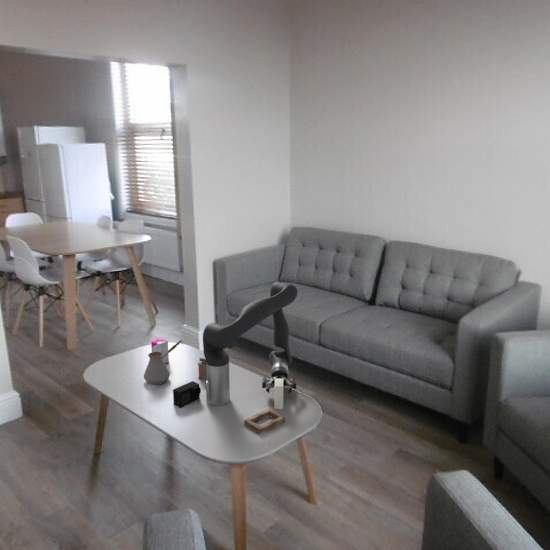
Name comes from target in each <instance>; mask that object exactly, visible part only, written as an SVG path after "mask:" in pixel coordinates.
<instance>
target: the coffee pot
mask: <svg viewBox="0 0 550 550" xmlns="http://www.w3.org/2000/svg"><path fill="white" fill-rule="evenodd" d="M180 343H181V344H184V341H183V340H181V339H180V340H179V341H178V342H176V343H175V344H174V345H172V346H171V347H170V349H168V352H167V353H166V354H164V355H163V353H162V352H152V351H151V352H150V353H148V357H149V360H148V364H147V366H146V368H145V371H144V374H143V379H144V380H145V382H146V383H148V384H150V385H153V386H154V385H155V386H158V385H162V384H164V383H166V382H167V381H168V379H169V378H170V375H171V373H170V370H169V369H168V367H167V364H165V363H164V361H163V360H162V359H163V358H164V357H165V356H166V355H167V354H168V355H169V354H170V353H172V351H174V349H176V348H177V346H179V345H180Z"/></svg>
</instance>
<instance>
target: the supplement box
mask: <svg viewBox="0 0 550 550" xmlns="http://www.w3.org/2000/svg"><path fill="white" fill-rule="evenodd" d="M150 344H151V345H150V346H151V353H152V352H162V353H163V355H164V354H166V353H167V352H168V351H169V341H168V340H167V339H163V338H157V339H154V340H152V341H151V342H150ZM169 356H170V355H169V353H168V354H167V355H166V356H165V357H164V358H163V359H162V360H163V361H164V363H165V365H167V364H169V362H170V361H169V360H170V359H169Z"/></svg>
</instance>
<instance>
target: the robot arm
mask: <svg viewBox="0 0 550 550" xmlns="http://www.w3.org/2000/svg"><path fill="white" fill-rule="evenodd" d="M269 295H270V296H268V297H263V298H260V299H256V300H253V301H251V302H250V303H248V304H247V305H245V306H243V307H242V309H240V311H239V314H238V315H237V316H238V317H237V319H236V320H235V321H234V322H232V323H230V324H228V325H223V324H219V323H217V322H209V323H208V324H207V325H206V326H205V328H203V329H204V330H203V332H202V347H203V355H204V356H203V357H204V358H205V359H206V367H207V381H206V382H205V391H206V392H205V393H206V394H205V395H206V404H207V405H208V404H209V405H211V406H217V407H218V406H221V407H222V406H225V405H227V404H229V403H230V400H231V393H230V392H231V387H230V385H231V384H230V381H231V380H230V356H229V354H228V353H227V352H226V351H225V349H227V348H229V347H230V346H231V345H232V344H234V343H235V342H236V341H237V340H238V339H239V338H240V337H241V336H243V335H244V334H245V333H247V332H248V331H249V330H251V329H253V328H254V327H256V326H257V325H259V324H261V323H262V322H263V321H264V320H266V319H267V318H268V317H270V316H271V315H272V319H273V346H275V347H277V348H280V349H283V350H272V351H271V352H270V353H269V357H268V359H269V360H268V361H269V364H270V365H271V370H270V377H269V378H268V377H266V376H263V377H262V381H261V386H262V387H261V388H262V389H265V392H267V393H268V394H270V389H274V385H275V378H276V379H283V388H285V389H288V394H291V393H292V392H293V389H294V390H296V389H297V377H296V376H293V377H292V378H290V377H289V374H290V373H289V366H290V365H291V364H292V362H293V357H292V353H291V350H290V343H289V341H290V340H289V339H290V329H289V324H288V322H287V319H286V317H285V313H284V310H283V308H285V307H287V306H289V305H291V304H293V302H294V301H296V299H297V297H298V288H297V287H296V286H295V285H293V284H291V283H288V282H282V281H275V282H274V283H272V285H271V287H270V294H269Z"/></svg>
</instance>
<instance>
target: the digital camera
mask: <svg viewBox="0 0 550 550" xmlns="http://www.w3.org/2000/svg"><path fill="white" fill-rule="evenodd" d="M201 392H202V390H201V387H200V384H199V382H196V381H190V382H188V383H185V384H182V385H181V386H178V387H176V388H174V389H172V393H173V394H172V395H173V398H172V399H173V405H174V406H175V405H176V407H177V406H178V407H177V408H179V409H181V408H183V407H186V406H187V405H190V404H192V403H194V402H196V401H199V400H200V399H201V398H200V397H201V396H200V395H201Z"/></svg>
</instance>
